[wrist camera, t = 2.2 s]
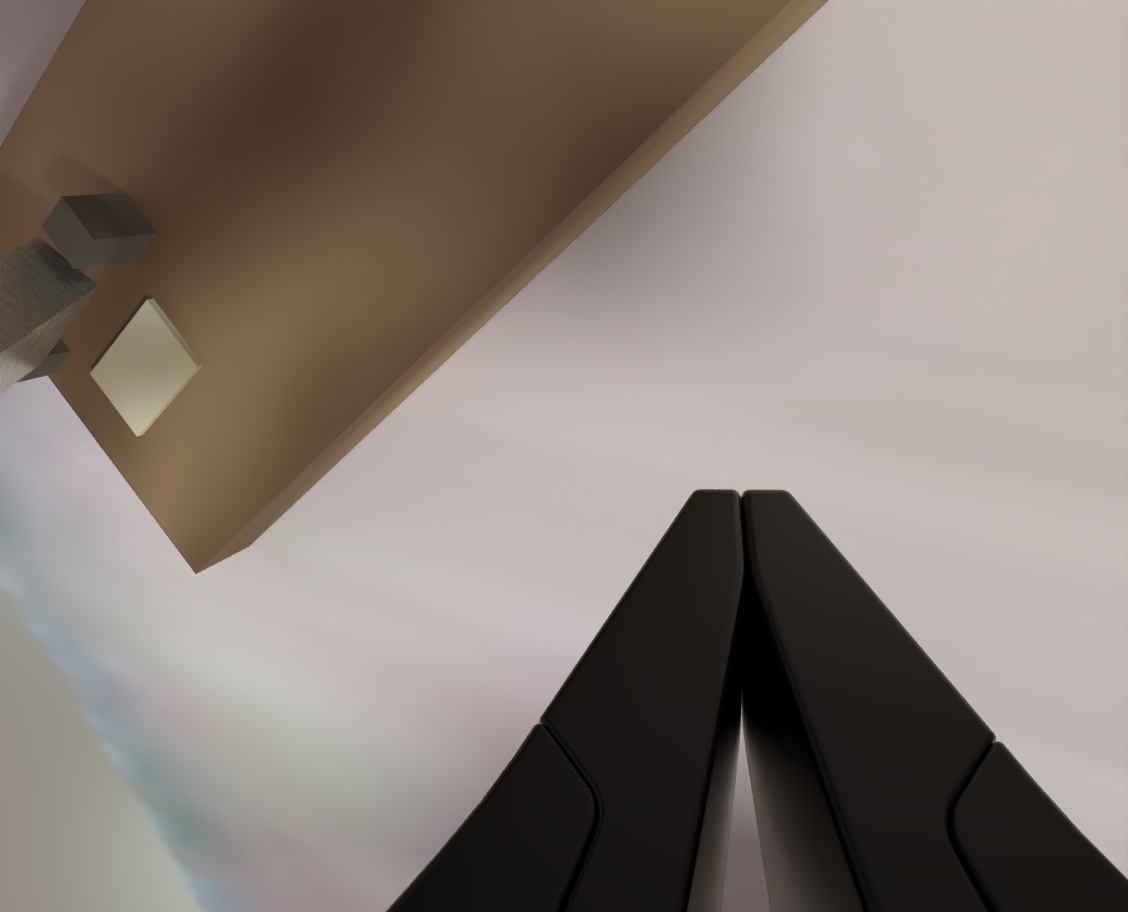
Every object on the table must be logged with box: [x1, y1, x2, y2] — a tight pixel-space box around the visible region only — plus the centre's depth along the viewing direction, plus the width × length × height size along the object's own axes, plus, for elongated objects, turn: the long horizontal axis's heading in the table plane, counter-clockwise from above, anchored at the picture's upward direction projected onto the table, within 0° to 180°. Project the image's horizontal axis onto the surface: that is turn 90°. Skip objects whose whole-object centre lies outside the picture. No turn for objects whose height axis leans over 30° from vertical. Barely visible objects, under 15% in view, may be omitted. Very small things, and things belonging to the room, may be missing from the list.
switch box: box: [0, 0, 828, 574], centre depth 21 cm, size 11×20×4 cm, turn 132°
